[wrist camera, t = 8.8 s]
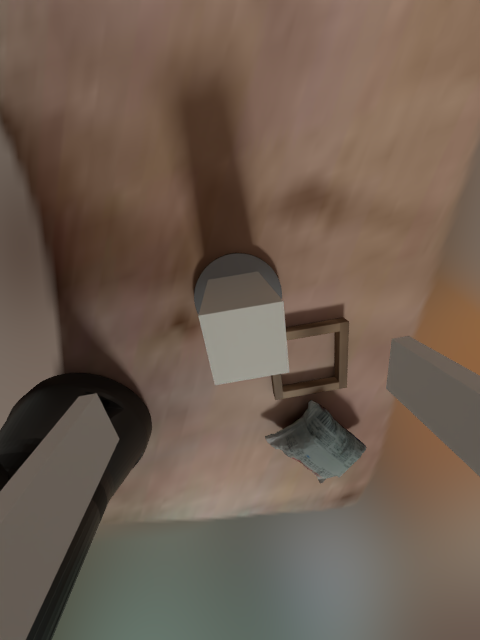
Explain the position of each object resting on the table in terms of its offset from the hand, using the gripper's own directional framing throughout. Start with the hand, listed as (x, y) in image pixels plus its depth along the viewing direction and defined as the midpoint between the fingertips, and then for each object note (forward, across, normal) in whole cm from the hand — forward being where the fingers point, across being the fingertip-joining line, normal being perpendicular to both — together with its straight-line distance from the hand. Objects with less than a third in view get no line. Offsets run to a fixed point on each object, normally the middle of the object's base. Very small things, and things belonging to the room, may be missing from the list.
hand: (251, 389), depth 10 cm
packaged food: (+15, +8, -22) cm, 28 cm away
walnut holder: (+15, +8, -9) cm, 19 cm away
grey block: (+14, 0, 0) cm, 14 cm away
